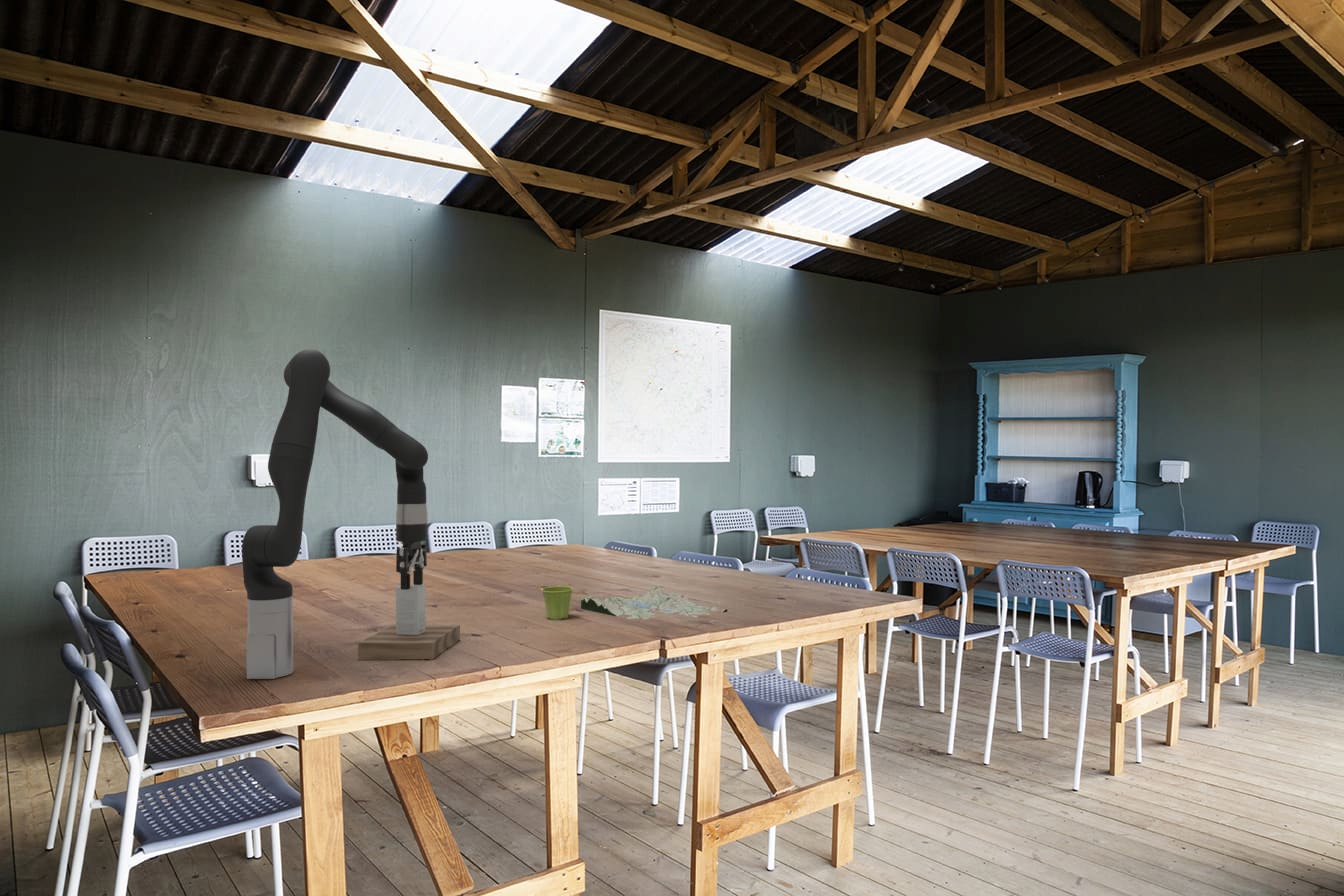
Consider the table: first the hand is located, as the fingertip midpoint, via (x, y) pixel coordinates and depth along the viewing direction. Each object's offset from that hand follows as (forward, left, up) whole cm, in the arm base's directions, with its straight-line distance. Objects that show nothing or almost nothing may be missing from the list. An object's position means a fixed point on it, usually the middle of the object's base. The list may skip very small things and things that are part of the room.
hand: (412, 587), depth 219 cm
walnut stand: (+1, 0, -16) cm, 16 cm away
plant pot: (+43, -29, -16) cm, 54 cm away
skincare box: (0, +1, -12) cm, 12 cm away
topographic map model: (+55, -56, -17) cm, 80 cm away
